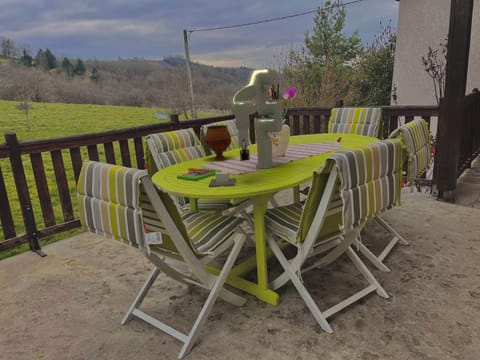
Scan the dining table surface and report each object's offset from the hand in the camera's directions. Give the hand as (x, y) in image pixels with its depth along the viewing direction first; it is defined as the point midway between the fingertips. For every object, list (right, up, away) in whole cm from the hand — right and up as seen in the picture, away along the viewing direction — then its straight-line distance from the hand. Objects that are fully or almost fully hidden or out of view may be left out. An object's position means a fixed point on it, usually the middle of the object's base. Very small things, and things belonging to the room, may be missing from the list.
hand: (245, 158), depth 203 cm
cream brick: (-12, -13, +3) cm, 18 cm away
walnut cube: (0, -1, 0) cm, 1 cm away
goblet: (-18, +3, +71) cm, 74 cm away
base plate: (-12, -14, +3) cm, 19 cm away
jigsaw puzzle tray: (-31, -9, +27) cm, 43 cm away
